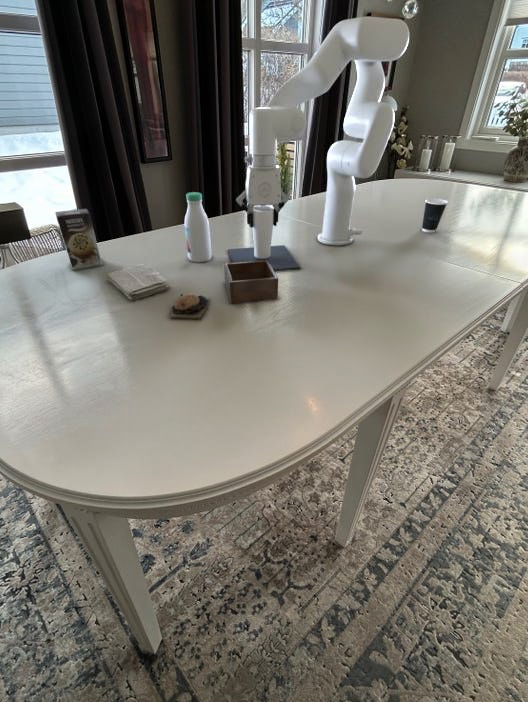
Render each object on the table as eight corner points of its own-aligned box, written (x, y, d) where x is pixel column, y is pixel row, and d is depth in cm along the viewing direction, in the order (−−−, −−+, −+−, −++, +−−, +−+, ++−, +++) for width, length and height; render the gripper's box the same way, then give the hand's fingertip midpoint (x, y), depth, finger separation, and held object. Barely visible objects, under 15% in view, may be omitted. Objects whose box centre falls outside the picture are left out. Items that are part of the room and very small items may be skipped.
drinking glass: (270, 261, 117) (271, 212, 108) (250, 259, 118) (249, 210, 109) (274, 253, 122) (275, 206, 113) (254, 252, 123) (254, 205, 114)
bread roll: (201, 320, 89) (200, 307, 87) (167, 318, 90) (165, 305, 88) (210, 299, 98) (209, 287, 96) (179, 298, 99) (177, 285, 96)
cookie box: (72, 270, 114) (55, 216, 104) (70, 263, 118) (53, 211, 108) (103, 265, 117) (89, 212, 107) (100, 258, 121) (86, 207, 112)
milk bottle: (215, 255, 123) (211, 191, 111) (205, 264, 117) (199, 197, 106) (194, 253, 125) (188, 189, 113) (184, 261, 120) (175, 195, 108)
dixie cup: (428, 235, 140) (436, 204, 133) (413, 229, 145) (420, 199, 139) (444, 232, 142) (453, 202, 135) (428, 226, 148) (436, 197, 141)
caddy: (267, 279, 108) (267, 260, 104) (277, 299, 98) (278, 278, 94) (224, 283, 106) (223, 263, 102) (231, 303, 96) (229, 282, 92)
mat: (284, 246, 130) (284, 245, 130) (300, 268, 114) (300, 267, 114) (228, 250, 127) (227, 249, 126) (236, 274, 111) (236, 272, 111)
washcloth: (131, 302, 97) (129, 292, 95) (105, 280, 108) (103, 270, 106) (171, 290, 103) (170, 279, 101) (143, 270, 114) (141, 260, 112)
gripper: (234, 164, 99) (236, 231, 110) (296, 162, 102) (292, 227, 112) (230, 159, 105) (233, 223, 116) (289, 157, 108) (286, 220, 118)
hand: (262, 225), depth 114 cm, fingers closed on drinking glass, 6 cm apart
